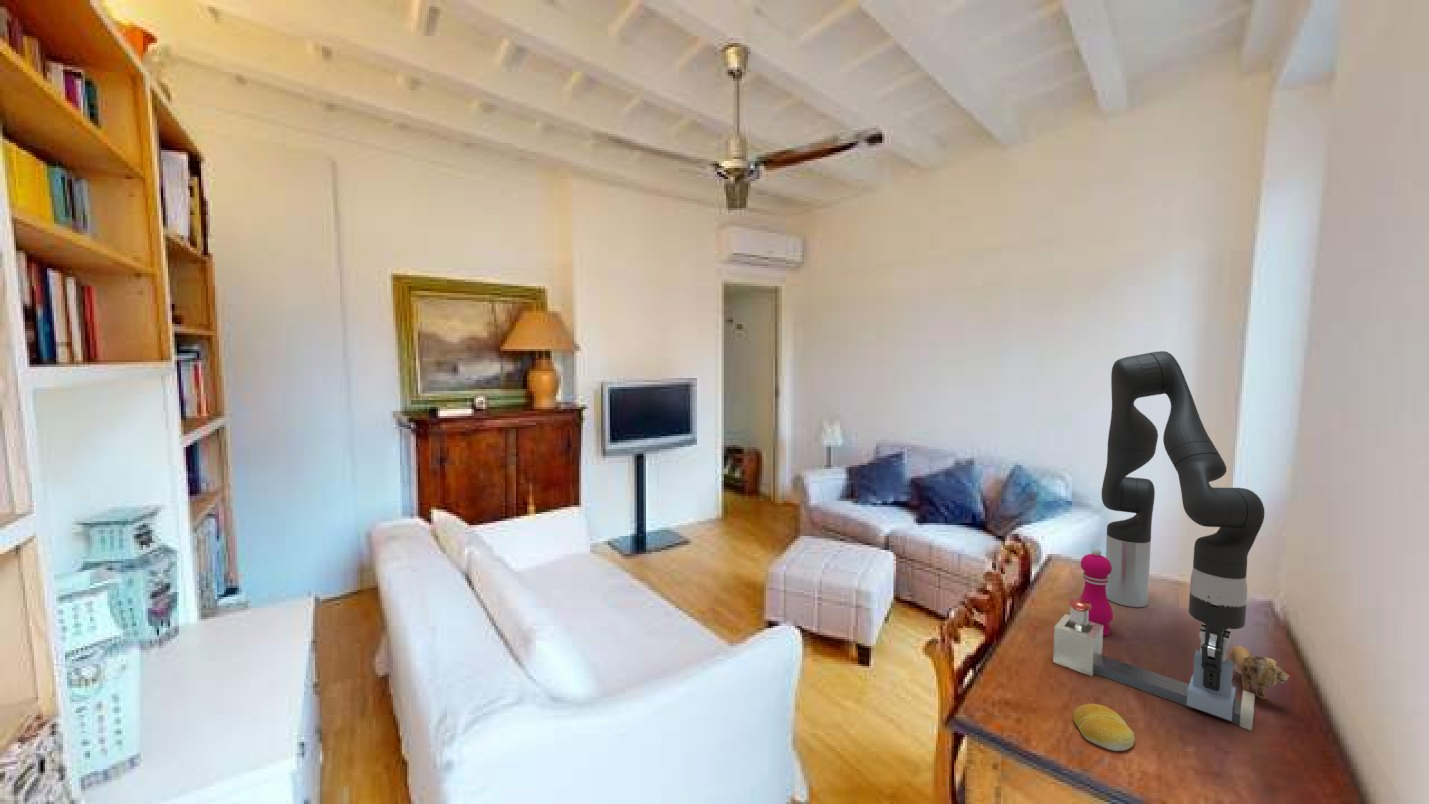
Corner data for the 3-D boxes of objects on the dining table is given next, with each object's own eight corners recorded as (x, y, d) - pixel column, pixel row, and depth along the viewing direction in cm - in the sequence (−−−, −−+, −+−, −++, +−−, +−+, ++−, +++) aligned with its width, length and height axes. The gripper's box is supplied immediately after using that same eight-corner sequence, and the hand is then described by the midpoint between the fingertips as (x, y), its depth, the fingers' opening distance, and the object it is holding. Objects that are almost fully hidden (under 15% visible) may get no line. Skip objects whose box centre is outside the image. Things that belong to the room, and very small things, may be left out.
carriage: (1191, 688, 103) (1194, 644, 102) (1234, 702, 98) (1237, 656, 98) (1186, 705, 98) (1189, 659, 97) (1231, 721, 94) (1234, 672, 93)
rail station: (1064, 648, 119) (1065, 614, 118) (1253, 712, 97) (1256, 670, 96) (1053, 662, 114) (1054, 626, 113) (1251, 733, 92) (1254, 690, 91)
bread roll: (1088, 749, 89) (1089, 727, 89) (1067, 714, 98) (1067, 694, 97) (1145, 758, 87) (1147, 735, 87) (1118, 721, 96) (1119, 700, 95)
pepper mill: (1100, 622, 130) (1103, 543, 128) (1119, 638, 123) (1123, 554, 121) (1068, 621, 131) (1071, 543, 129) (1086, 637, 123) (1089, 554, 122)
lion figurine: (1291, 713, 96) (1295, 667, 96) (1255, 709, 98) (1258, 662, 97) (1237, 667, 110) (1240, 626, 110) (1206, 664, 112) (1209, 623, 111)
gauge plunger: (1070, 621, 116) (1071, 596, 115) (1092, 628, 113) (1093, 602, 112) (1065, 628, 113) (1066, 602, 113) (1087, 635, 110) (1088, 608, 110)
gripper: (1194, 577, 104) (1189, 661, 105) (1184, 600, 95) (1179, 692, 96) (1248, 589, 98) (1242, 678, 100) (1244, 615, 89) (1237, 712, 90)
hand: (1211, 684), depth 98 cm, fingers closed on carriage, 2 cm apart
